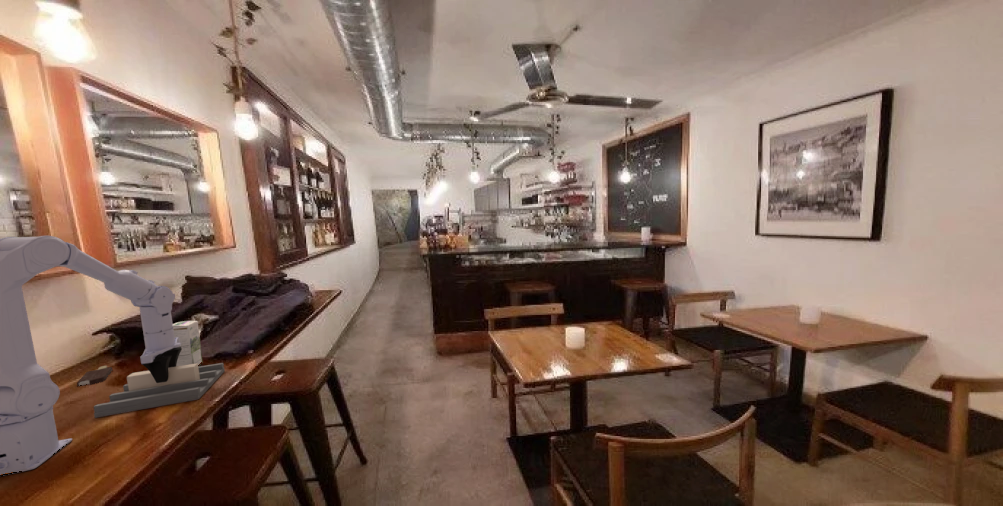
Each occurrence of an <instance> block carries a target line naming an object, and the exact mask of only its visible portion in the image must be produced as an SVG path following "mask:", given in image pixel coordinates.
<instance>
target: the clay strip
mask: <svg viewBox="0 0 1003 506" xmlns="http://www.w3.org/2000/svg"><path fill="white" fill-rule="evenodd" d="M198 367H199V366H198V363H196V364H189V365H183V366H176V367H169V368H168V381H166V382H161V383H156V381H155V379H154V378H153V376H152V374H151V373H150V371H149V370H143V371H137V372H132V373H129V375H127V376H126V381H127V384H128V388H129V391H133V390H139V389H145V388H151V387H157V386H163V385H170V384H176V383H182V382H188V381H194V380H200V375H199V368H198Z"/></svg>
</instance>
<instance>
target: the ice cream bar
mask: <svg viewBox="0 0 1003 506" xmlns="http://www.w3.org/2000/svg"><path fill="white" fill-rule="evenodd" d="M111 371H112V372H113V367H112V366H109V367H108V365H102V366H99V367H98V369H95V370H93V369H92V370H89V371H86V372H85V373H84V374H83V376H82V377H80V379H78V381H77V382H76V385H77V387H78V386H79V387H81V386H80V385H82V386H85V385H86V384H87V385H90V386H91V385H95V383H96V384H99V382H100V383H102V382H104V381H106V380H107V378H108V377H109V376H108V375H111V373H112V372H111Z"/></svg>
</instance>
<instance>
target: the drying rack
mask: <svg viewBox="0 0 1003 506" xmlns="http://www.w3.org/2000/svg"><path fill="white" fill-rule="evenodd" d="M198 368H199V375H200V380H194V381H188V382H182V383H176V384H170V385H163V386H157V387H151V388H145V389H139V390H133V391H129V388H128V383H126V384H124V385H123V386H122V387H123V391H122V392H115V393H111V394H110V395H109V396H108V397H109V401H108V402H103V403H99V404H98V403H97V404H96V405H94V406H93V411H94V412H93V416H94V418H95V419H96V418H102V417H107V416H111V415H118V414H122V413H124V414H125V413H129V412H135V411H139V410H140V411H141V410H148V409H151V408H157V407H164V406H169V405H173V404H174V405H175V404H180V403H184V402H191V401H197V400H199V399H201V397H203V395H204V394H206V392H207V391H208V390H209V389H210V388H211V387H212V386H213V384H215V382H216V381H217V380H218V379H219V378H220V377H221V376H222V375H223V374H224V373H225V371H226V368H225V367H224V362H219V363H213V364H208V365H199V366H198Z"/></svg>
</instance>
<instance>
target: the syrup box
mask: <svg viewBox="0 0 1003 506" xmlns="http://www.w3.org/2000/svg"><path fill="white" fill-rule="evenodd" d="M173 330H174V337H175V338H176V337H179V342H180V343H181V346H179V347H181V348H182V350H181V352H180V354H179V356H178V360H177V364H176V366H183V365H189V364H196V363H198V365H199V364H200V363H201V362H202V363H203V356H202V346H201V336H200V329H199V321H198V320H184V321H183V320H182V321H178V322H175V324H174V323H173ZM200 365H201V364H200ZM200 365H199V366H200Z"/></svg>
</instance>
